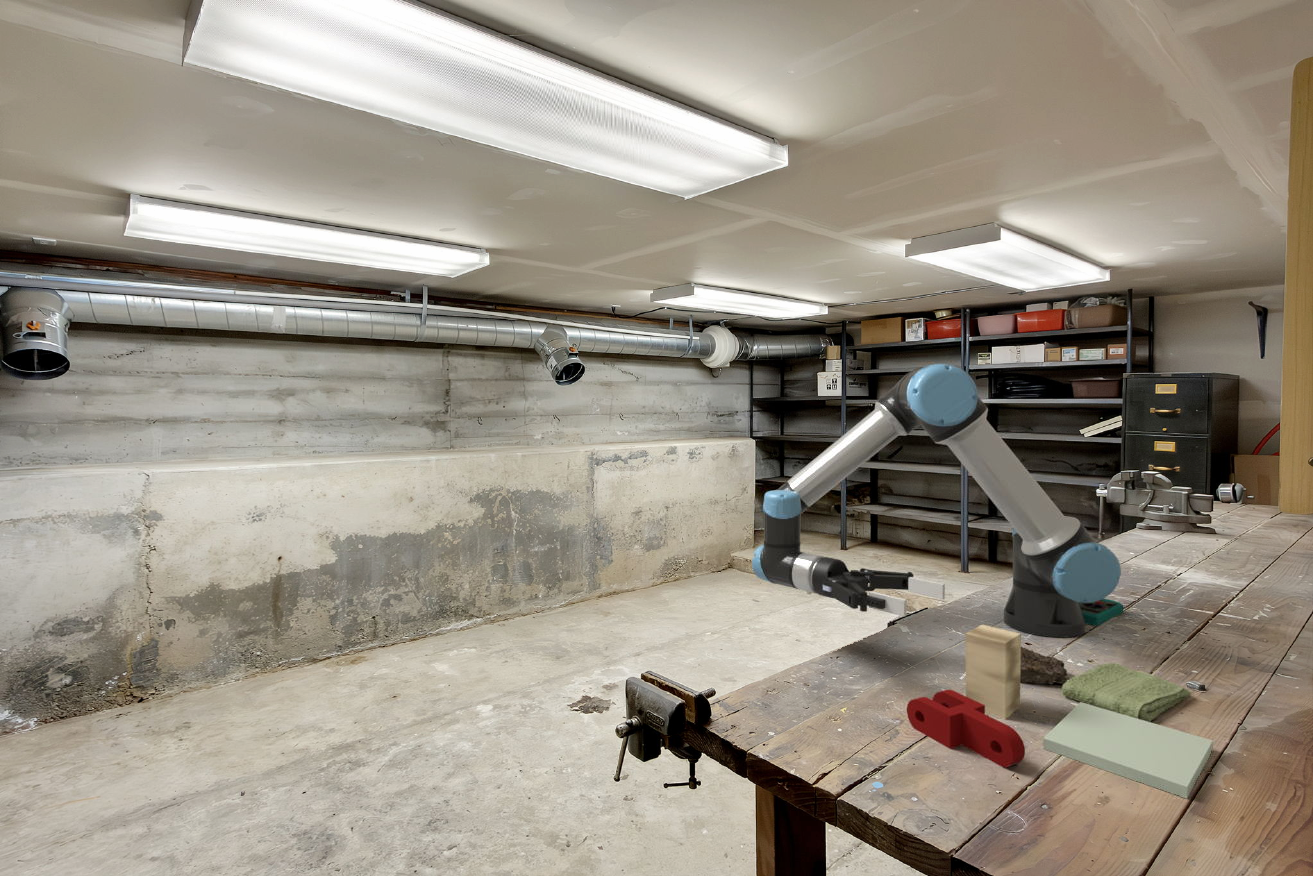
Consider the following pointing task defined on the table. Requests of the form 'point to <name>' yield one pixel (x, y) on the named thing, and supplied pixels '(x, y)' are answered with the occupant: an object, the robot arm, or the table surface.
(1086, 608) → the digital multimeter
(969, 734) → the mechanical linkage
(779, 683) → the table surface
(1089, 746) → the sage board
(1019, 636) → the beech block
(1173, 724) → the table surface
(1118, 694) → the washcloth
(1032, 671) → the brown rock
